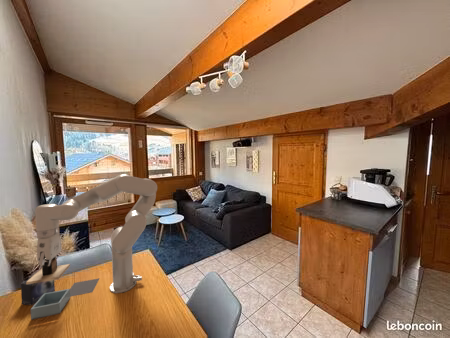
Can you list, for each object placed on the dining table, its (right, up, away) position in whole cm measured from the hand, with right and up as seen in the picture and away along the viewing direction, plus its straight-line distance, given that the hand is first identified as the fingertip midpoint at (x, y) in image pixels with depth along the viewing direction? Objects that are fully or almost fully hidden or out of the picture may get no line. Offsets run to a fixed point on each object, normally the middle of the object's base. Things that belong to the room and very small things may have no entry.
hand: (50, 271), depth 87 cm
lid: (0, -1, 0) cm, 1 cm away
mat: (+4, -17, +15) cm, 22 cm away
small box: (-13, -17, +8) cm, 23 cm away
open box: (0, -17, +1) cm, 17 cm away
